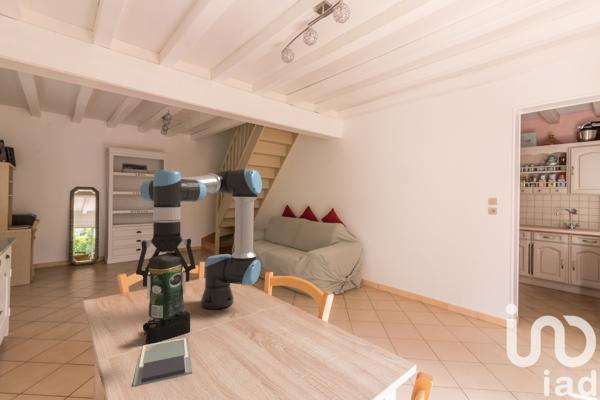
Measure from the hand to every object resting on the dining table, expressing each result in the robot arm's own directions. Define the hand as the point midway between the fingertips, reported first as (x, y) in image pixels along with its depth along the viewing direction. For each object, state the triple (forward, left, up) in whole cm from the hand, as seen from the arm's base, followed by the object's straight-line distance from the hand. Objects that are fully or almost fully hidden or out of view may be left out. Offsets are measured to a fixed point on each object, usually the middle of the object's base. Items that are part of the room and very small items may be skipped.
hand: (166, 294), depth 85 cm
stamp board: (0, -3, -22) cm, 22 cm away
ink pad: (0, +4, -22) cm, 22 cm away
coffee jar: (0, 0, -6) cm, 6 cm away
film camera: (+1, -20, -22) cm, 30 cm away
